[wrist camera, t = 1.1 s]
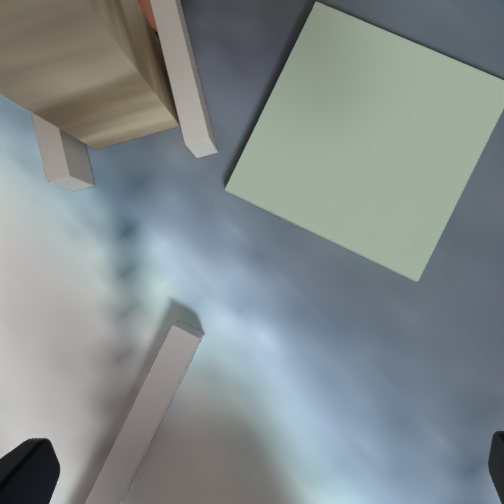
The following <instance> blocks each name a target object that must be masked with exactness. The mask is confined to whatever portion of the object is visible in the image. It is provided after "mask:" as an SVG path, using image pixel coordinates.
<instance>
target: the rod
mask: <svg viewBox="0 0 504 504" xmlns="http://www.w3.org/2000/svg"><path fill="white" fill-rule="evenodd" d="M203 336H204V333H202V332H200V331H198V330H196V329H194V328H192V327H190V326H188V325H187V324H185V323H183V322H181V321H177V322H176V323H174V324H173V325H172V326H171V329H170V331H169V333H168V335H167V337H166V339H165V341H164V343H163V345H162V347H161V349H160V351H159V353H158V355H157V357H156V359H155V361H154V363H153V365H152V367H151V369H150V371H149V373H148V375H147V377H146V380H145V382H144V384H143V386H142V388H141V390H140V392H139V394H138V396H137V398H136V400H135V402H134V404H133V406H132V408H131V410H130V412H129V414H128V416H127V418H126V420H125V422H124V424H123V426H122V428H121V431H120V433H119V435H118V437H117V439H116V441H115V443H114V445H113V447H112V449H111V451H110V453H109V455H108V457H107V459H106V461H105V463H104V465H103V467H102V469H101V471H100V473H99V475H98V477H97V479H96V482H95V484H94V486H93V488H92V490H91V492H90V494H89V496H88V498H87V500H86V502H85V504H121V503H122V501H123V499H124V497H125V495H126V493H127V491H128V489H129V487H130V484H131V482H132V480H133V478H134V476H135V474H136V472H137V470H138V468H139V466H140V464H141V462H142V460H143V458H144V456H145V454H146V452H147V450H148V448H149V446H150V444H151V442H152V440H153V438H154V436H155V434H156V432H157V430H158V428H159V426H160V424H161V422H162V419H163V417H164V415H165V413H166V411H167V409H168V407H169V405H170V403H171V401H172V399H173V397H174V395H175V393H176V391H177V389H178V387H179V385H180V383H181V381H182V379H183V377H184V375H185V373H186V371H187V369H188V367H189V365H190V363H191V361H192V359H193V357H194V354H195V352H196V350H197V348H198V346H199V344H200V342H201V340H202V338H203Z"/></svg>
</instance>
